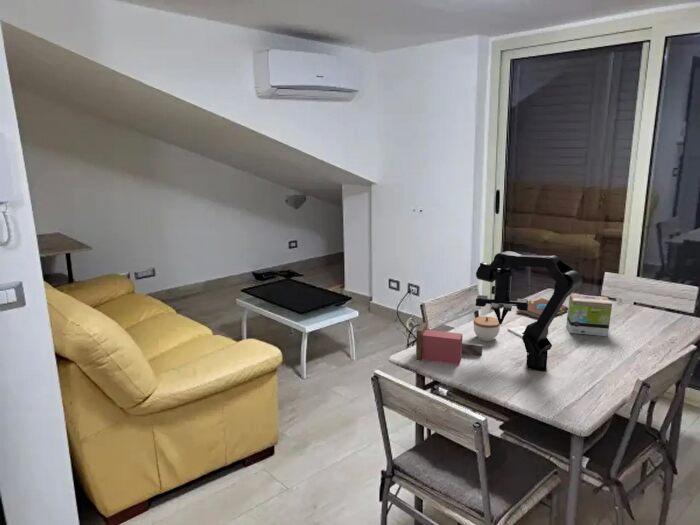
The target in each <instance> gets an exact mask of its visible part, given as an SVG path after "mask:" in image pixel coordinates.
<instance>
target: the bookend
mask: <svg viewBox="0 0 700 525" xmlns="http://www.w3.org/2000/svg"><path fill="white" fill-rule="evenodd" d="M427 326H428V323H427V322H420V323H419V326H418V327H417V329H416V345H415V349H416V350H415V361H418V362H422V361H423V360H422V335H423V333H424V332H425V330H428V329H427ZM462 355H469V356H470V355H473V356H479V357H480V356H482V357H483V344H479V343H471V342H463V341H462Z"/></svg>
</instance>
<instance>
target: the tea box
mask: <svg viewBox="0 0 700 525" xmlns="http://www.w3.org/2000/svg"><path fill="white" fill-rule="evenodd" d="M567 307H568V311H567V316H566V323H565V324H566V327H567V330H568V332H569V333H570V334H581V335H589V336H591V335H592V336H601V337H608V335H609V331H610V323H611V322H610V321H611V317H612V316H611V314H612V307H613V304H612V302H611V301H610V299H609V298H608V297H607V296H598V295H586V294H585V295H583V294H574V293H573V294H572V293H571V294H570V295H569V300H568V306H567Z"/></svg>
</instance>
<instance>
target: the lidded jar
mask: <svg viewBox="0 0 700 525" xmlns="http://www.w3.org/2000/svg"><path fill="white" fill-rule="evenodd" d="M500 329H501V324H499V322H498V319H497V317H492V316H488V315H487V316H477V317H475V318H474V319H473V332H474V334H475V335H476V337H478V339H479V340H480V341H483V342H491V341H494V339H495V338H497V336H498V335H499V334H500Z"/></svg>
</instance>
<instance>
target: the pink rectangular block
mask: <svg viewBox="0 0 700 525" xmlns="http://www.w3.org/2000/svg"><path fill="white" fill-rule="evenodd" d="M462 342H463V333H459V332H450V331H441V330H434V329H433V330H432V329H427V330H425V332H424V333H423V335H422V361H429V362H437V363H443V364H444V363H445V364H452V365H458V366H459V365H460V364H461V361H462V359H463V358H462V357H463V356H462V355H463V354H462Z"/></svg>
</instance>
